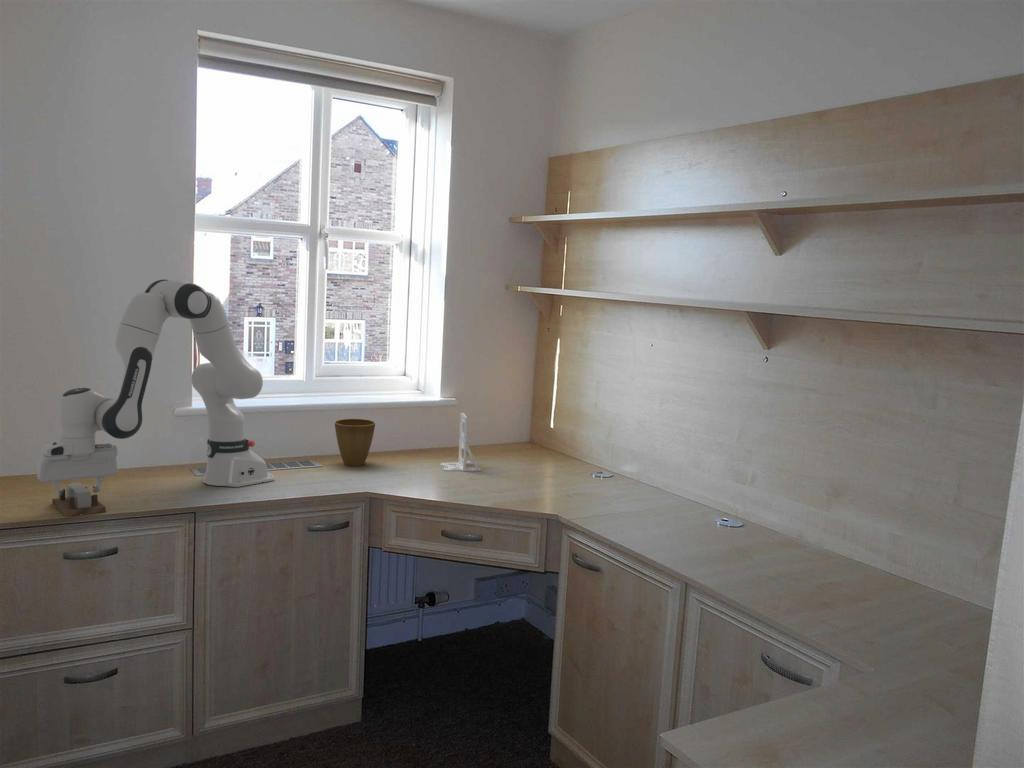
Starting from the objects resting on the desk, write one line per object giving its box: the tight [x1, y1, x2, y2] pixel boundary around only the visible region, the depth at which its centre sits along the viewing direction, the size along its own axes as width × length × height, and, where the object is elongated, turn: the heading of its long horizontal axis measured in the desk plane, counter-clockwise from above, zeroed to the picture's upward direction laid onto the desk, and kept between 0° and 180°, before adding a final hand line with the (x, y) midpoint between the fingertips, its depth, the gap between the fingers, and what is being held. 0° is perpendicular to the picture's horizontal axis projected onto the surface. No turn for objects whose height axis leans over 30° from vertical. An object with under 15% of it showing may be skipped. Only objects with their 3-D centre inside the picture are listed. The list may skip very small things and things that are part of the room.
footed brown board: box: [51, 486, 106, 517], centre depth 238 cm, size 10×16×4 cm, turn 40°
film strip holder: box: [439, 412, 481, 473], centre depth 314 cm, size 14×14×20 cm
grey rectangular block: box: [66, 482, 92, 508], centre depth 238 cm, size 3×12×4 cm, turn 40°
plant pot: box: [334, 418, 376, 467], centre depth 311 cm, size 15×15×16 cm
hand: (78, 493), depth 238 cm, fingers open, 8 cm apart
